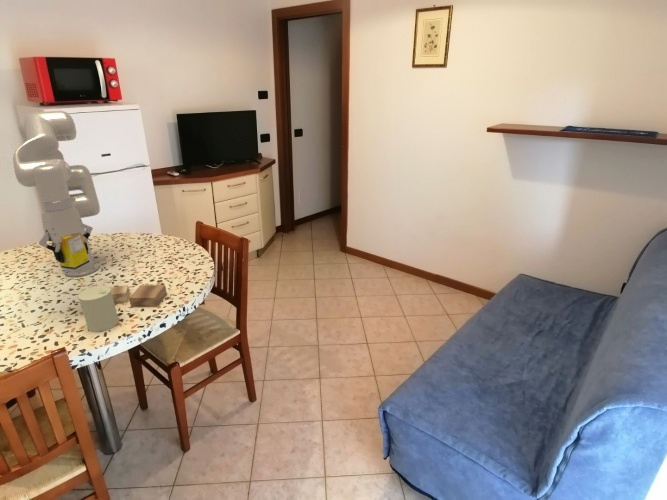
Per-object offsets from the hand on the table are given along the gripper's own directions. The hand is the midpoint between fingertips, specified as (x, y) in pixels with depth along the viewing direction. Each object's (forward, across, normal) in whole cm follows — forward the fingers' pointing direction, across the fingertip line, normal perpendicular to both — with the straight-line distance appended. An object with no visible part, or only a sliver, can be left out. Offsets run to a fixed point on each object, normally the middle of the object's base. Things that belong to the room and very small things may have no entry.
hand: (73, 257), depth 133 cm
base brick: (+20, -14, +13) cm, 28 cm away
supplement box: (+3, 0, 0) cm, 3 cm away
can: (+20, +3, +13) cm, 24 cm away
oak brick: (+20, -10, +3) cm, 22 cm away
